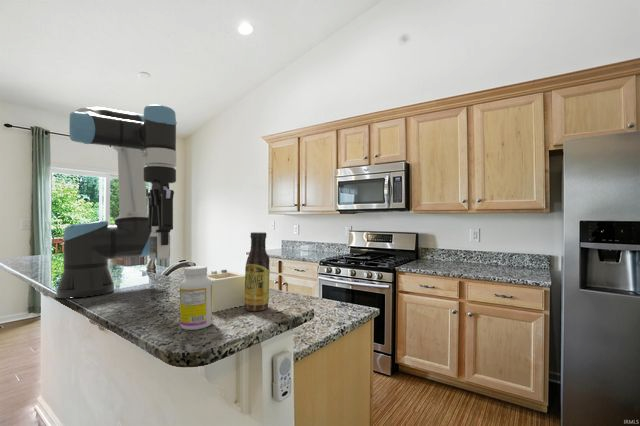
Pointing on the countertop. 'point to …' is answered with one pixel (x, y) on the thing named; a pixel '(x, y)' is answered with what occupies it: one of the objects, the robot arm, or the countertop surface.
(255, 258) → the sauce bottle
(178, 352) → the countertop surface
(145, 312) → the countertop surface
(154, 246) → the pill bottle
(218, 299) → the cream open-top box
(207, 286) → the supplement bottle
